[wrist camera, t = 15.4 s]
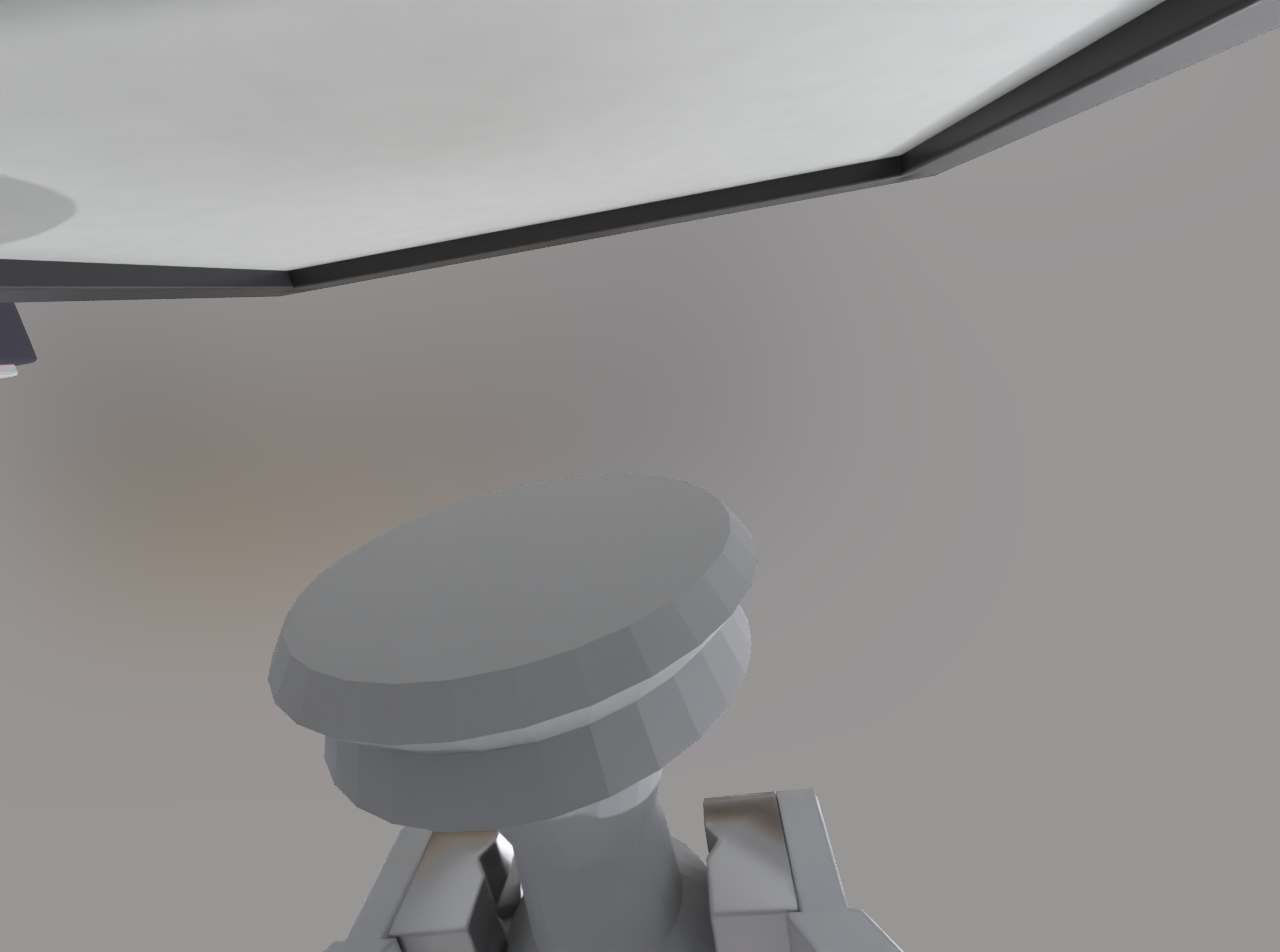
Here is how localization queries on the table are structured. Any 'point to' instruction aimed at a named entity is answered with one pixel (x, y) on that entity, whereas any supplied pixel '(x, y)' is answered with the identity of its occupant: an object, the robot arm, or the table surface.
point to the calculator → (13, 341)
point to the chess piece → (536, 689)
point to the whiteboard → (506, 121)
